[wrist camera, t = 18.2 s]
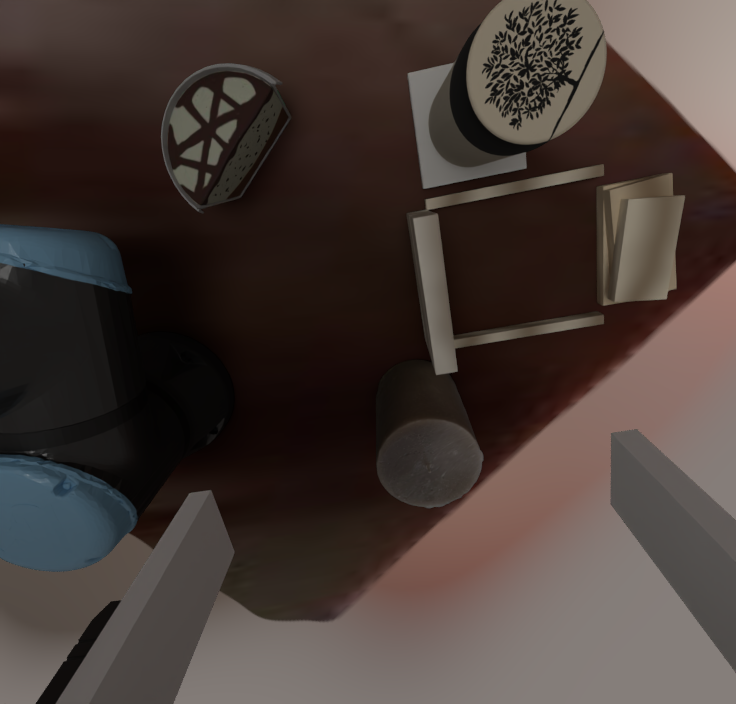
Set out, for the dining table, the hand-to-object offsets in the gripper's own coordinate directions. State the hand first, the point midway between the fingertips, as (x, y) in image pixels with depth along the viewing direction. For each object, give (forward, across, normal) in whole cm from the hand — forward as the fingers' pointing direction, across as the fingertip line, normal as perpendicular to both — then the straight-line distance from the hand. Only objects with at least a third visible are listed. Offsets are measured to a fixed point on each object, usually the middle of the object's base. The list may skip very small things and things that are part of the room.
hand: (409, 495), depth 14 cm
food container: (+35, -12, +17) cm, 41 cm away
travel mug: (+34, +10, +14) cm, 38 cm away
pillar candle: (+35, +1, -14) cm, 38 cm away
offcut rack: (+35, +16, 0) cm, 38 cm away
